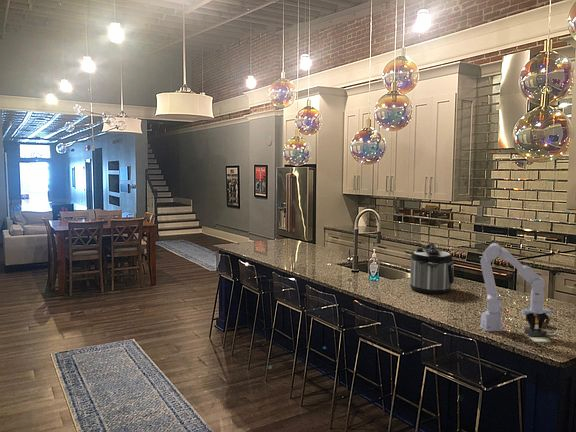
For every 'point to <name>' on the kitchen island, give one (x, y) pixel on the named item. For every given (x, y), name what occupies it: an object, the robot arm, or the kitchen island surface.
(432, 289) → the pressure cooker
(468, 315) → the kitchen island surface
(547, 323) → the brown looped band
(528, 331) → the grey square with handle
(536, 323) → the metal cylinder
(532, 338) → the mat
